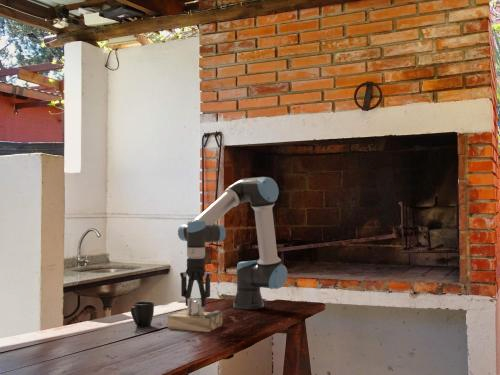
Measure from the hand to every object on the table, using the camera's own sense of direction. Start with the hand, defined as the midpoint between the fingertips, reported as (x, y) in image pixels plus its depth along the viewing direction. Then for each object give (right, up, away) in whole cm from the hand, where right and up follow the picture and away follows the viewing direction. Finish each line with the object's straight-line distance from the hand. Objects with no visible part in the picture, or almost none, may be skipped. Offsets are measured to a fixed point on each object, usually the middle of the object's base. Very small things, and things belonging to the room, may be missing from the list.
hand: (195, 314), depth 229 cm
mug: (-22, -5, -1) cm, 23 cm away
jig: (0, -5, 0) cm, 5 cm away
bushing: (0, -4, 0) cm, 4 cm away
